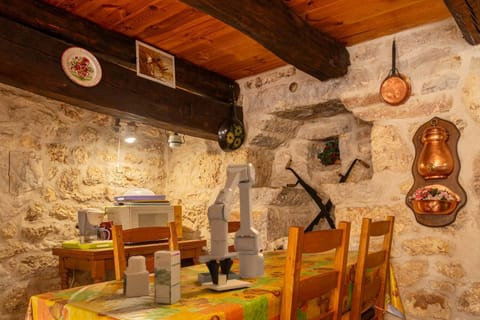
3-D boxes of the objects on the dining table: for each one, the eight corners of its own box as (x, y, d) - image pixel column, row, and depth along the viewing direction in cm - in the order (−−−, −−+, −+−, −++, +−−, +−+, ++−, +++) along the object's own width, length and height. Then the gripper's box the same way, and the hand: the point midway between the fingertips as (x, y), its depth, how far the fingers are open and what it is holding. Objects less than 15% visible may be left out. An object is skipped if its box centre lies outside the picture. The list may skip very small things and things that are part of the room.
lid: (234, 281, 134) (234, 270, 134) (252, 285, 126) (252, 273, 127) (201, 285, 126) (201, 274, 126) (218, 290, 118) (218, 277, 119)
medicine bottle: (122, 293, 123) (123, 255, 125) (145, 291, 126) (145, 253, 127) (125, 298, 117) (126, 257, 118) (149, 295, 120) (149, 256, 121)
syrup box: (181, 300, 113) (180, 249, 114) (171, 305, 107) (171, 252, 109) (163, 299, 114) (164, 249, 116) (153, 303, 109) (153, 251, 111)
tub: (231, 279, 143) (231, 270, 144) (239, 283, 135) (239, 274, 135) (197, 282, 139) (197, 273, 140) (203, 286, 131) (203, 277, 131)
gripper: (229, 238, 133) (230, 278, 132) (193, 241, 125) (194, 284, 123) (242, 239, 128) (243, 281, 126) (205, 242, 119) (206, 287, 117)
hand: (219, 283), depth 124 cm, fingers closed on lid, 3 cm apart
